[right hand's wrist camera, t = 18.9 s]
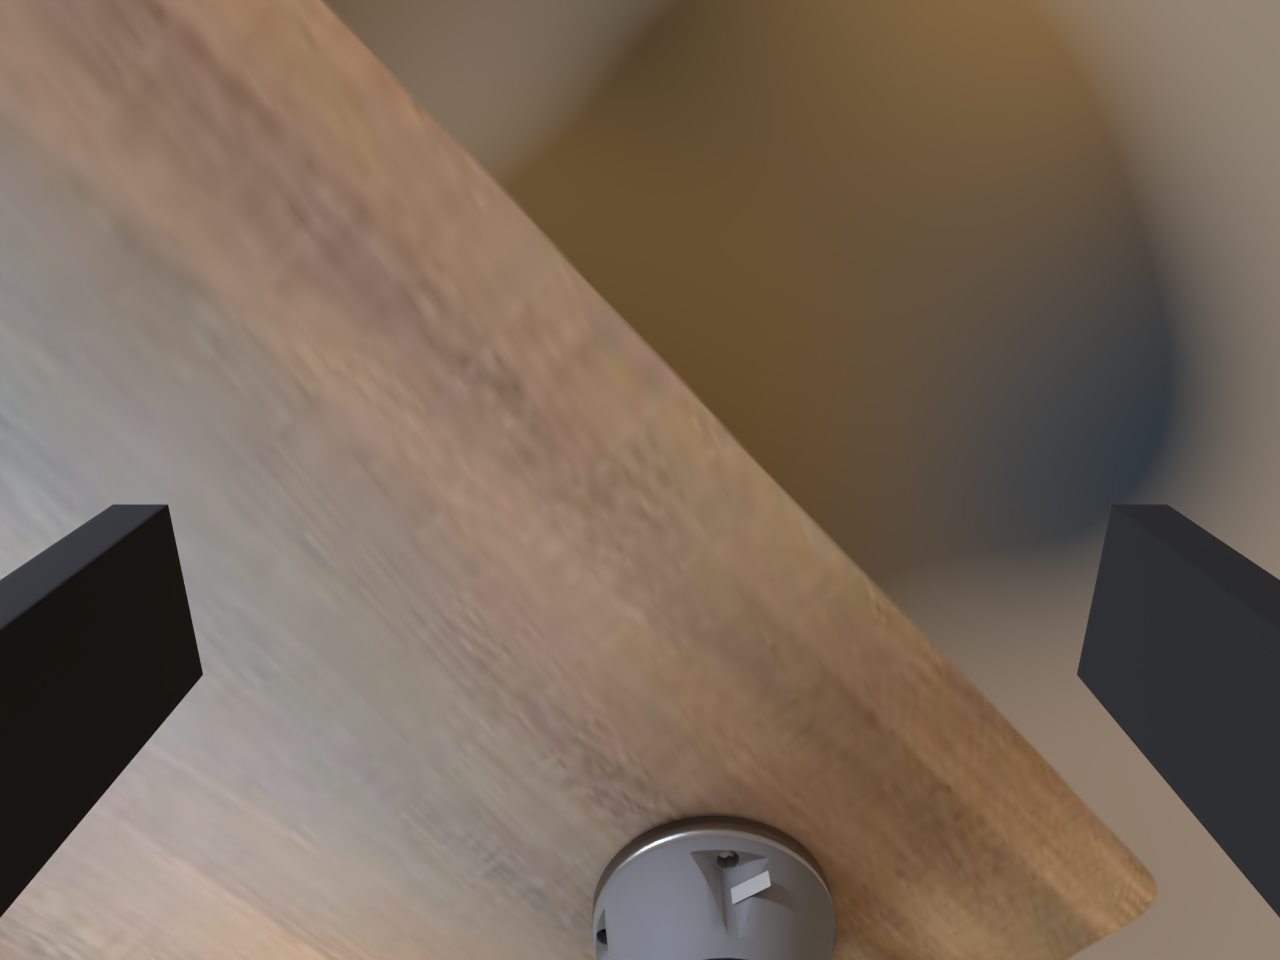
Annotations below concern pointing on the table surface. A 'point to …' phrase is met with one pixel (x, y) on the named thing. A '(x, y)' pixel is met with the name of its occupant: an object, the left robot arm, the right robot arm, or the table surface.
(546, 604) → the table surface
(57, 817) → the right robot arm
